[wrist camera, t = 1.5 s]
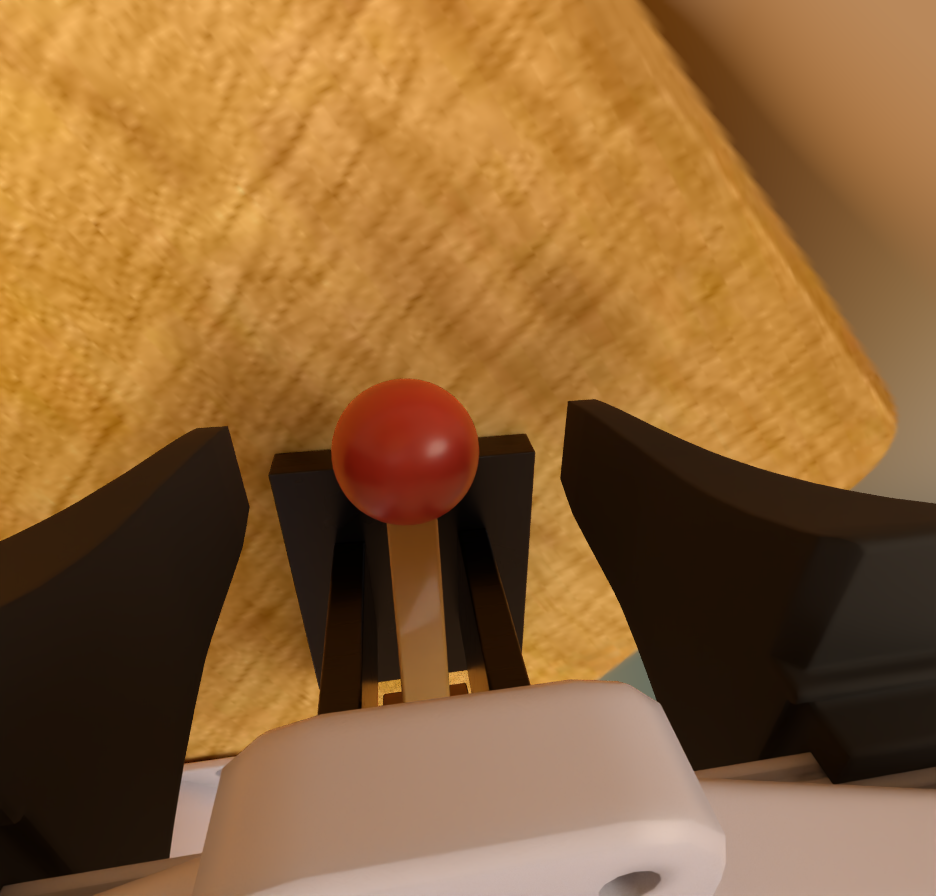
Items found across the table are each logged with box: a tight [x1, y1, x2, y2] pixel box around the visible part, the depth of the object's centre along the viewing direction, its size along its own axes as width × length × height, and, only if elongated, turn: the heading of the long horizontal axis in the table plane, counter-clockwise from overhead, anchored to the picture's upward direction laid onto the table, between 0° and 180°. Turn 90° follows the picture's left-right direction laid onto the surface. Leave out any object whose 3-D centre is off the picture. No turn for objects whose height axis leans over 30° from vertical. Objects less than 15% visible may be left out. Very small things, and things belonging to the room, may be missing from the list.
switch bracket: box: [269, 434, 535, 715], centre depth 16 cm, size 10×8×9 cm
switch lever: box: [331, 379, 479, 706], centre depth 13 cm, size 11×3×3 cm, turn 1°
